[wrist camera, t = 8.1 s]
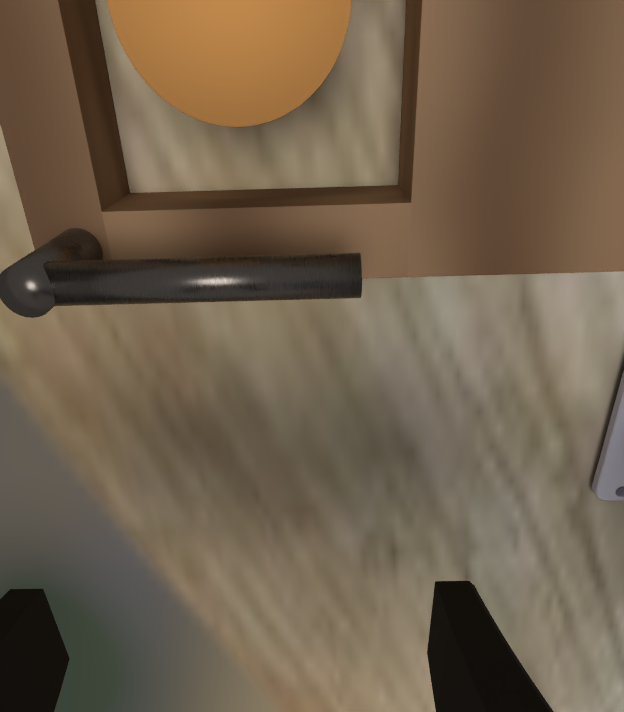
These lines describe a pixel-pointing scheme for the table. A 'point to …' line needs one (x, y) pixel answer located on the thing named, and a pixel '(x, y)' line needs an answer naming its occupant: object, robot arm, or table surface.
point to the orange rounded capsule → (232, 53)
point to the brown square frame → (367, 203)
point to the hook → (168, 277)
